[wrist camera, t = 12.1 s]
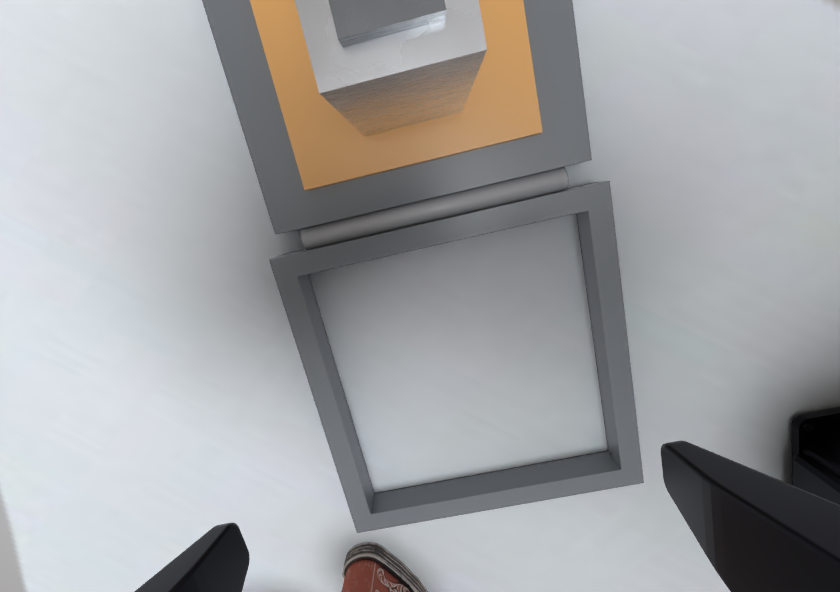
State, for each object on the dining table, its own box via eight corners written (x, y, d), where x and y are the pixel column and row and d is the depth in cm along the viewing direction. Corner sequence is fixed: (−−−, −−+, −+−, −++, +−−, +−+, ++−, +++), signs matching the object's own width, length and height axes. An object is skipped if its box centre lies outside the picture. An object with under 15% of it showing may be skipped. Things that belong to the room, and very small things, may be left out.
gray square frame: (595, 182, 18) (609, 180, 17) (629, 463, 22) (643, 482, 20) (281, 255, 19) (269, 259, 18) (361, 511, 23) (357, 532, 21)
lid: (539, -162, 15) (554, -208, 13) (583, 184, 18) (600, 183, 16) (195, -59, 16) (167, -90, 14) (291, 252, 19) (277, 258, 18)
